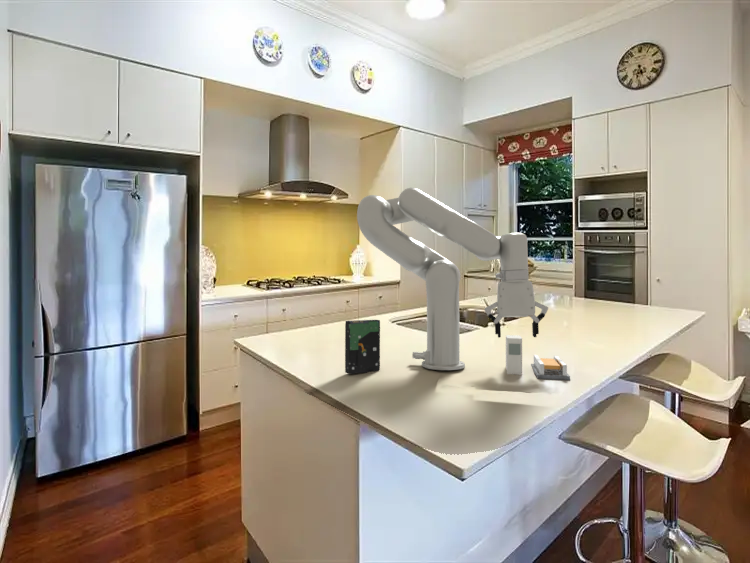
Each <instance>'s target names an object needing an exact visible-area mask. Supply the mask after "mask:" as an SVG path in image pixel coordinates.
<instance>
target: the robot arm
mask: <svg viewBox="0 0 750 563" xmlns="http://www.w3.org/2000/svg"><path fill="white" fill-rule="evenodd" d="M356 210H357V213H356V220H357V224H358V228H359V229H360V232H361V233H362V235H363V236H364V238H365V239H366V240H367V241H368V242H369V243H370V244H371V245H372V246H374V247H375V248H376V249H378V250H379V251H380V252H382V253H383V254H385V255H386V256H388V257H389V259H391V260H393V261H395V262H396V263H398V264H399V266H401V267H402V268H403V269H405V270H406V271H409V272H412V273H413V274H415V275H416V276H417V277H419V278H420V279H422V280H424V281H425V292H426V350H425V351H422V352H420V351H412V359H416V360H423V361H421V366H422V367H423V368H425V369H429V370H434V371H435V370H436V371H456V370H457V371H458V370H462V369H464V368H465V367H466V363H465V362H464V361H461V360H460V281H461V277H462V276H461V275H462V274H461V270H460V269H459V267H458V266H457V265H456V264H455V263H454V262H452V261H450V260H449V259H447V258H446V257H444V256H443V255H441V254H440V253H438V252H437V251H435V250H433V248H430V247H429V246H427V245H426V244H425V243H423V242H421V241H419V240H416V239H414V238H413V237H411V236H410V235H408V234H406V233H404V232H403V231H402V230H400V229H399V228H397V227H396V226H394V225H400V224H404V223H408V222H409V223H410V222H413V221H415V222H417V223H418V224H419V225H420V226H423V227H425V228H426V229H427V230H429V231H431V232H432V233H434V234H435V235H437V236H438V237H442V238H444V239H448V240H450V241H452V242H453V243H455V244H457V245H458V246H460V247H462V248H463V249H465V250H467V251H468V252H469V253H471V254H472V255H474V256H475V257H476V258H477V259H478V260H480V261H484V262H489V261H493V260H495V261H496V260H499V261H500V272H498V273H495V279H500V282H498V284H497V294H496V297H497V298H496V301H495V302H494V303H491V304H489V305H487V306H486V307H484V311H485V313H486V315H487V317H488V318H489V319H490V320H491V322H493V323H494V333H495V335H497V338H498V339H499V338H501V335H502V334H501V332H502V331H501V323H500V321H501V320H502V319H503V318H528V317H529V318H531V320H532V322H531V324H532V325H531V326H532V327H531V330H532V331H531V332H532V337H533V338H537V335H539V333H540V332H539V330H540V329H539V323H540V321H541V320H542V319H544V318H545V316H546V314H547V312H548V310H549V307H548V306H546V304H545V305H544V304H542V303H540V302H537V301H536V299H535V291H534V285H533V282H532V280H531V281H530V280H529V256H528V254H529V252H528V251H529V250H528V238H527V235H526V234H524V233H522V232H511V233H504V234H502V235H499V236H498V235H495V233H493V232H491V231H489V230H488V229H486V228H484V227H483V226H482V225H480V224H478V223H476V222H475V221H472V220H471V219H469V218H467V217H466V216H464V215H462V214H460V213H459V212H457V211H456V210H454V209H452V208H451V207H449V206H448V205H445V204H444V203H443V202H441V201H439V200H437V199H436V198H434V197H432V196H430V195H429V194H427V193H425V192H424V191H422V190H421V189H419V188H417V187H416V188H415V187H407V188H405V189H404V190H402V191H401V192H400V194H399V196H398V197H395V198H389V199H384V198H383V197H382V196H379V195H376V194H370V195H367V196H366V195H365V196H364V197H363V198H362V199H361V200H360V201H359V204H358V206H357V209H356ZM495 308H496V310H497V315H496V317H495V315H493V313H492V312H491V311H492V310H493V309H495ZM536 308H539V309H541V311H540V313H539V314H538V315H536Z"/></svg>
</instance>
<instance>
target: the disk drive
mask: <svg viewBox="0 0 750 563" xmlns="http://www.w3.org/2000/svg"><path fill="white" fill-rule="evenodd" d="M344 326H345V328H344V330H345V331H344V333H345V334H344V335H345V338H344V340H345V341H344V343H345V345H344V356H345V357H344V368H345V369H344V372H345V374H348V375H355V374H362V373H364V374H365V373H369V372H379V370H381V368H380V367H381V361H380V360H381V321H380V319H360V320H359V319H357V320H345V324H344Z"/></svg>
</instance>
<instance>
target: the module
mask: <svg viewBox="0 0 750 563" xmlns="http://www.w3.org/2000/svg"><path fill="white" fill-rule="evenodd" d="M505 368H506V369H505V370H506V375H518V376H519V375H523V338H522V336H521V335H514V334H513V335H512V334H511V335H510V334H507V335H505Z"/></svg>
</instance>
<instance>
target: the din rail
mask: <svg viewBox="0 0 750 563" xmlns="http://www.w3.org/2000/svg"><path fill="white" fill-rule="evenodd" d="M540 358H541V357H539V355H538V354H533V363H531V364H530V366H531V367H532V370H533V372H534V375H535V376H536V379H538V380H539V379H540V380H558V381H559V380H560V381H562V380H563V381H571V375H570V374H569V373H568V371H567V370H568V366H567V364H566V362H564V361H563V359H561V358H560V357H559V355H553V359H554V360H555V361H556V362H557V363H558V364H559V365H560V370H559V369H544V363H543V362H542V361H541V359H540Z"/></svg>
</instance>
